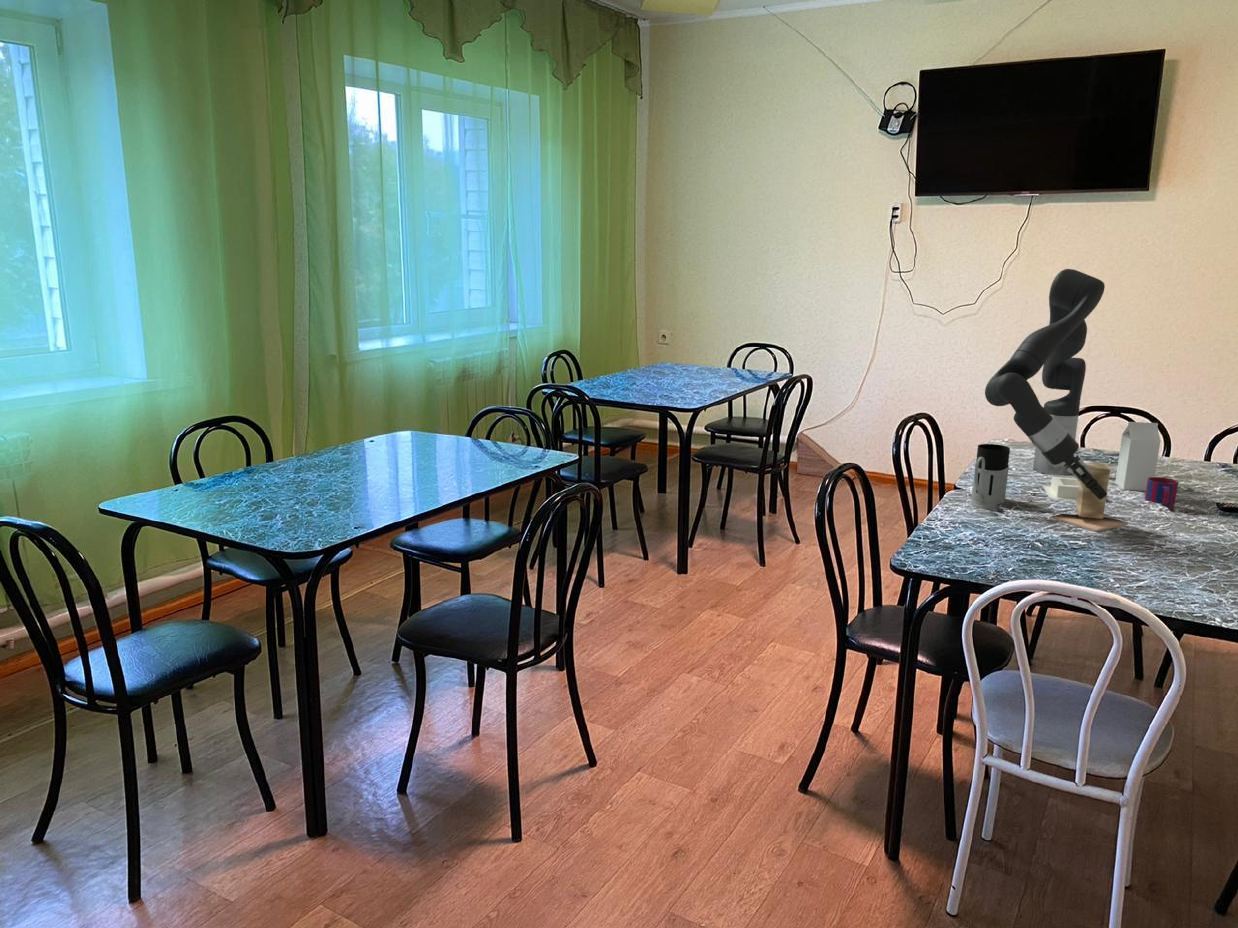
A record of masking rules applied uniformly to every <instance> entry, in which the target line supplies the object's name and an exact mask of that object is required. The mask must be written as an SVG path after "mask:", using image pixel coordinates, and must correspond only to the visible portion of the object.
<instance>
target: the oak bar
mask: <svg viewBox="0 0 1238 928" xmlns="http://www.w3.org/2000/svg"><path fill="white" fill-rule="evenodd" d="M1084 464H1085V466H1086V467H1087V468H1088V469H1089V470H1090V471H1091V472H1092V474H1091V476H1092V477H1093V478H1094V479H1096V480H1097V482H1098V484H1099V485H1100V486H1101V487H1102V488H1103V489H1104V490H1105V492H1106V493H1107V494H1108V488H1109V480H1110V473H1111V469H1110V467H1109V466H1108V465H1107V464H1106V463H1104V464H1103V463H1094V462H1093V463H1091V462H1084ZM1091 480H1092V479H1091V478H1088V479H1087V480H1085V482H1086V483H1088V482H1089V481H1091ZM1106 499H1107V496H1106V497H1104V498H1103V499H1101V500H1100V499H1098V498H1097V497H1096V495H1095V494H1094V493H1093V492H1092V491H1091V490H1090V489H1088V488H1086V486H1085V484H1084V483H1083V482H1082V481H1081V482H1080V484H1079V491H1078V498H1077V501H1076V505H1075V506H1076V508H1075V512H1076V514H1077V515H1079V516H1080V517H1089V518H1101V519H1103V517H1104V515H1105V509H1106V503H1105V502H1107V501H1106Z"/></svg>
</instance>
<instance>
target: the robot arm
mask: <svg viewBox="0 0 1238 928" xmlns="http://www.w3.org/2000/svg"><path fill="white" fill-rule="evenodd" d="M1049 288H1050V289H1049V296H1048V305H1049V324H1048V325H1046V326H1043V327H1041V328H1038V329H1036V330H1035V331H1033V332H1031V333H1030V334H1029V335H1027V336H1026V337H1025V339H1024V340H1023V341H1022V342H1021V344H1020V345H1019V346H1018V348H1017V349H1016V350H1015V351H1014V353H1013V354H1012V355H1011V357H1010V359H1009V360H1008V361H1007V362H1005V364H1003V365H1002V366H1001V367H1000V368H999V370H997V371H996V372H995V373H994V375H993V376H991V378H990V379H989V380H988V382H987V384H986V386H985V389H984V396H985V399H986V401H987V402H988V403H989V404H990V405H992V406H995V407H1005V406H1008V405H1010V406H1011V407H1012V409H1013V410H1014V412H1015V413H1014V416H1013V421H1014V423H1015V424H1016V425H1017V427H1018V428H1019V429H1020V430H1021V431H1022V432H1023V434H1025V435H1026V436H1027V438H1028V439H1029V441H1030V442H1031V443H1032V445H1033V446H1034V448H1035V449H1034V456H1033V466H1032V470H1035V471H1037V472H1038V473H1040V474H1045V475H1050V476H1069V475H1071V474H1072V475H1073V476H1074V478H1076V479H1077V480H1078V481H1080V482H1081V481H1082V482H1083V483H1084V484H1085V486H1086V488H1088V489H1090V490H1091V491H1092V492H1093V493H1094V494H1095V495H1096V497H1097V498H1098V499H1100V500H1101V499H1103V498H1104V497H1106V498H1107V496H1108V492H1107V493H1106V492H1105V490H1104V489H1103V488H1102V487H1101V486H1100V485H1099V484H1098V482H1097V480H1096V479H1094V478H1093V477H1092V476H1091V474H1092V472H1091V471H1090V470H1089V469H1088V468H1087V467H1086V466H1085V464H1084V463H1085V462H1084V460H1082V458H1081V457H1080V456H1079V455H1075V453H1077V451H1078V450H1079V448H1080V445H1079V443H1078V442H1077V440H1076V437H1077V429H1078V423H1079V414H1080V406H1081V398H1082V392H1083V387H1084V382H1085V377H1086V370H1087V366H1086V365H1087V363H1086V361H1085V359H1084V358H1082V357H1074V356H1076V355H1077V354H1078V353H1080V352H1081V351H1082V350H1083V348H1084V346H1085V344H1086V340H1087V334H1088V326H1087V322H1086V320H1085V319H1087V317H1089V315H1091V313H1093V311H1094V310H1095V308H1097V306H1098V304H1099V303H1100V301H1101V299H1102V298H1103V295H1104V292H1105V282H1104V281H1103V280H1100V279H1099V278H1097V277H1095V276H1092V275H1089V274H1088V273H1087V274H1086V273H1085V272H1082V271H1079V270H1076V269H1073V268H1072V269H1071V268H1065V269H1063V270H1060V272H1058V273H1057V274H1056V276H1055V277H1054V279H1053V281H1052V282H1051V285H1050V287H1049ZM1041 369H1042V373H1041V381H1042V384H1043V386H1044V387H1045V388H1047V389H1051V390H1062V391H1069V392H1068V393H1067V394H1066V395H1064V396H1062V397H1060V398H1056V399H1052V400H1049V401H1046V402H1045V403H1044V405H1042V404H1041V403H1040V401H1039V398H1038V396H1037V395H1036V393H1035V391H1034V389H1033V388H1032V387H1033V386H1032V385H1031V384H1030V383H1029V381H1028V380H1029V379H1031V378H1033V377H1034V376H1035V375H1037V374H1038V373H1039V372H1040V370H1041ZM1088 478H1091V479H1092V480H1091V481H1089V482H1088V483H1086V482H1085V480H1087V479H1088Z"/></svg>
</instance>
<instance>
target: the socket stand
mask: <svg viewBox="0 0 1238 928" xmlns="http://www.w3.org/2000/svg"><path fill="white" fill-rule="evenodd" d="M1079 484H1080V481H1078V480H1077V479H1076V478H1075V477H1062V476H1060V477H1059V476H1051V481H1050V485H1043V484H1042V487H1043V489H1044V490H1045V492H1046V493H1047V495H1048V497H1049V498H1050V499H1052V500H1053V499H1054V500H1065V501H1076V502H1077V498H1078V491H1079ZM1105 504H1107V501H1106V502H1105Z"/></svg>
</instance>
